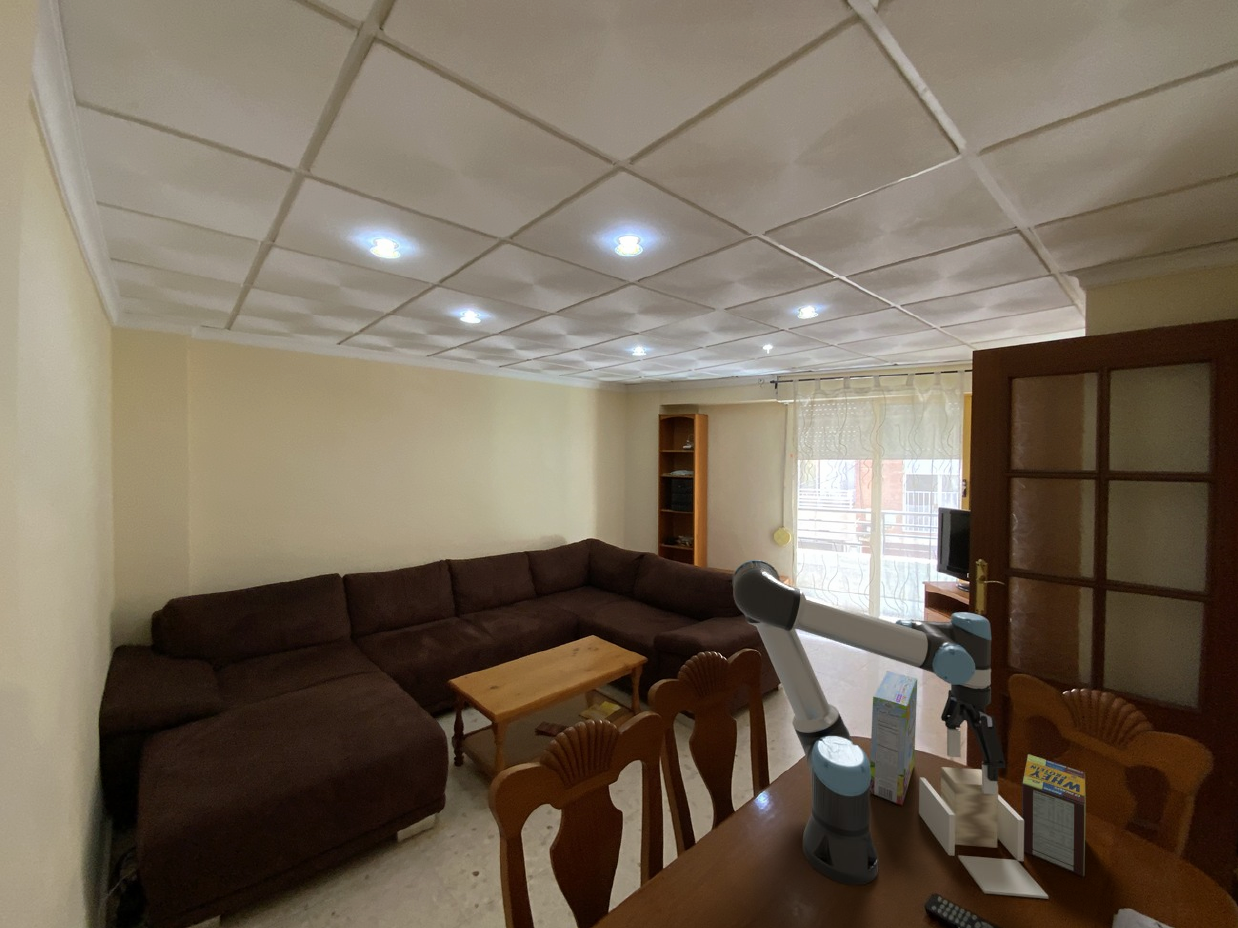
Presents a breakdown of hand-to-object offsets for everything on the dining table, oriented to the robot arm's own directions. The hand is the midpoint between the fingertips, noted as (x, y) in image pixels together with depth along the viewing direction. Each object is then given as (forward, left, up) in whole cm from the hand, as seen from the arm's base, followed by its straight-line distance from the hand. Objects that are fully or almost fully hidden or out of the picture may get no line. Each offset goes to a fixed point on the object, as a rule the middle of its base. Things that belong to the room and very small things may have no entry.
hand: (970, 773), depth 115 cm
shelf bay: (0, 0, -15) cm, 15 cm away
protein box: (+18, 0, -15) cm, 23 cm away
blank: (0, 0, -15) cm, 15 cm away
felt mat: (0, -11, -15) cm, 19 cm away
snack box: (-8, +20, -15) cm, 26 cm away
